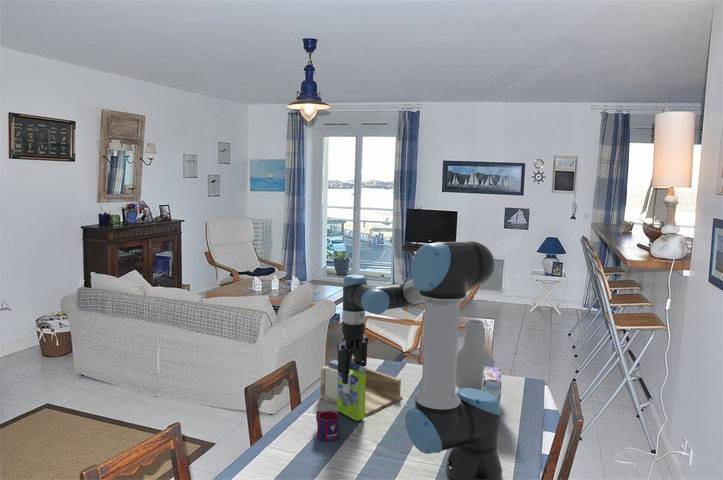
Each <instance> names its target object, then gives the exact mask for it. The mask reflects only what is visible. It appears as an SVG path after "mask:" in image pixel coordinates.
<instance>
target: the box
mask: <svg viewBox="0 0 723 480" xmlns="http://www.w3.org/2000/svg"><path fill="white" fill-rule="evenodd" d="M354 366H357V367H359V369H357V368H355V367H354ZM366 368H367V367H366V366H364V367H362V366H360V365H358V364H355V363H353V362H351V366H350V372H349V374H351V391H350V394H348V393H345V392H343V383H342V374H341V373H338V393H337V403H336V411H337V412H339V413H341V414H343V415H344V416H346V417H348V418H350V419H352V420H354V421H355V422H359V421H361V420H363V419H366V415H365V393H366Z"/></svg>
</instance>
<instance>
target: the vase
mask: <svg viewBox="0 0 723 480" xmlns="http://www.w3.org/2000/svg"><path fill="white" fill-rule="evenodd" d="M484 325H485V323H484V321H482V320H478V319H466V320H465V325H464V326H465V329H464V336H463V341H462V345H460V347H459V348H457V365H456V388H457V389H458V390H459V389H462V388H473V389H479V390H482V375H483V366H490V367H496V366H495V360H494V357H492V355H491V354H490V353H489V352H488V351H487V349H486V348H485V343H484V340H485V339H484V328H485V327H484Z"/></svg>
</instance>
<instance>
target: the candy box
mask: <svg viewBox="0 0 723 480" xmlns="http://www.w3.org/2000/svg"><path fill="white" fill-rule="evenodd" d="M502 382H503V381H502V375H501V369H500V367H499V366H498V367H497V366H495V367H490V366H483V375H482V390H483V391H486V392H488V393H490V394H492V395H494V396H495V397H497V399H498V400H499V402H500V403H501V395H502V394H501V393H502Z"/></svg>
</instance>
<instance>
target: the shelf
mask: <svg viewBox="0 0 723 480" xmlns="http://www.w3.org/2000/svg"><path fill="white" fill-rule="evenodd" d="M351 362H353V363H355V360H354V355H352V360H351ZM328 366H329V364H328V365H325V366H322V367H320V396H321V397H320V398H322V397H324V398H326V399H325V400H327V399H328V400H327V401H329V400H331V401H330V402H332V401H334V402H336V403H335V404H337V400H335V399H333V398H330V397H328V396H325V367H328ZM354 367H355V366H354ZM355 368H356V367H355ZM365 368H366V393H365V417H366V416H367V417H368V416H369V415H371V414H374V413H376V412H378V411H380V410H382V409H385V408H386V407H388V406H390V405H392V404H394V403H396V402H398V401H401V400H402V399H403V395H401V387H402V386H401V385H402V384H401V383H402V380H401V378H398V377H394V376H391V375H390V374H387V373H384V372H383V373H382V372H380V371H377V370H374V369H371V368H368V367H365ZM324 398H323V399H324ZM334 402H333V403H334Z"/></svg>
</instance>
